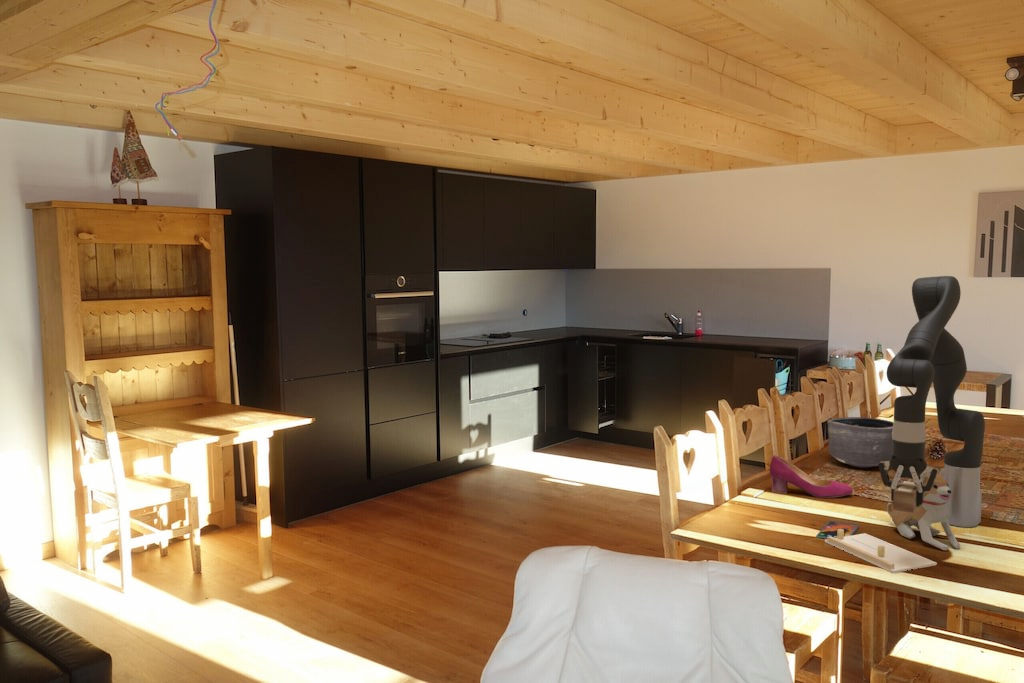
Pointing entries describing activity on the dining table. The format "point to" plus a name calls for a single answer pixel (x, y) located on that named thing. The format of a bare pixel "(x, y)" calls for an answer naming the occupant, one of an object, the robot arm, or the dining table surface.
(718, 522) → the dining table surface
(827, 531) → the smartphone
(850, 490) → the high heel
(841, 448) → the tea bowl
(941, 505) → the toy
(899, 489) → the brown rectangular block
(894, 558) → the wall board
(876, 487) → the dining table surface
